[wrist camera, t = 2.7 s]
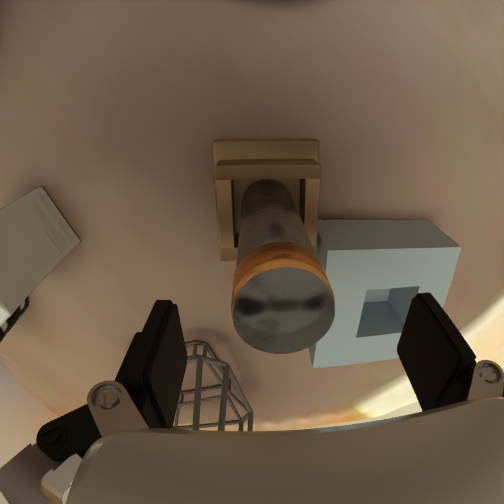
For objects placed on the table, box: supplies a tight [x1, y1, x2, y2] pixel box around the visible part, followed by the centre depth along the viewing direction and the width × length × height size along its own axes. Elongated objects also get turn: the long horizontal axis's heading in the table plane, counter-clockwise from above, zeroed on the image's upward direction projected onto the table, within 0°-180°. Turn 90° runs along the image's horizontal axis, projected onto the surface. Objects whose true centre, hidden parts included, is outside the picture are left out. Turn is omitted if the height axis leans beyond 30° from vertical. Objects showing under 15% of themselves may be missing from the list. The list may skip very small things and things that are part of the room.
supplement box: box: [0, 187, 80, 326], centre depth 21 cm, size 7×7×13 cm
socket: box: [308, 219, 461, 368], centre depth 26 cm, size 12×12×6 cm
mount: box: [213, 139, 320, 261], centre depth 24 cm, size 10×8×4 cm
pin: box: [231, 179, 335, 354], centre depth 18 cm, size 4×4×14 cm
